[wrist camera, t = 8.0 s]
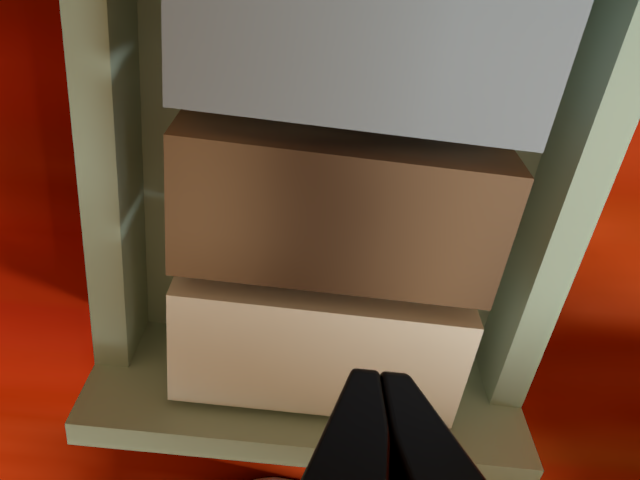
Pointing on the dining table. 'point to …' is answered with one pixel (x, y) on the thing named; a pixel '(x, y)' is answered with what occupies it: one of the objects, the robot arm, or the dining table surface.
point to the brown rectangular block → (339, 210)
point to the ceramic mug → (272, 478)
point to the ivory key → (309, 346)
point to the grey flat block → (378, 64)
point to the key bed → (152, 282)
